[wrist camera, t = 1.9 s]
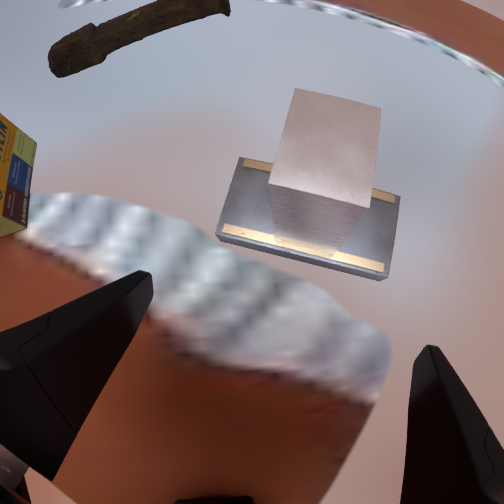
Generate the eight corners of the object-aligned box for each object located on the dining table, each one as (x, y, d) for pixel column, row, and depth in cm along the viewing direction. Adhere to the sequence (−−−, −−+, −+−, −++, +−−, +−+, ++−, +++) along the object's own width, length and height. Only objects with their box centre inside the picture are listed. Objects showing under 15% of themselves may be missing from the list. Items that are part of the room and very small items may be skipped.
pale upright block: (348, 186, 21) (381, 108, 12) (333, 254, 20) (369, 207, 12) (292, 172, 22) (295, 88, 13) (274, 240, 21) (267, 182, 12)
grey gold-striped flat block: (392, 205, 23) (401, 194, 21) (379, 281, 22) (389, 277, 20) (242, 169, 25) (239, 155, 22) (220, 241, 24) (214, 232, 21)
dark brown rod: (226, 1, 30) (218, -32, 25) (234, 19, 29) (227, -18, 24) (63, 65, 31) (43, 40, 26) (59, 88, 30) (36, 62, 25)
